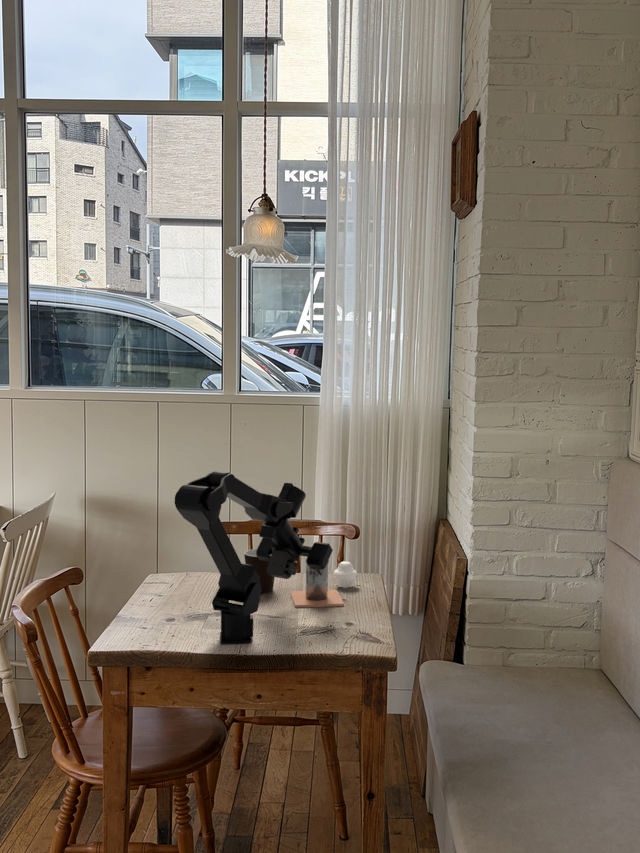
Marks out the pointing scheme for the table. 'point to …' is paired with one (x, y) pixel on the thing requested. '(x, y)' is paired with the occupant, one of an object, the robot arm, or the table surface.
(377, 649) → the table surface
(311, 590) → the press pot
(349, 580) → the muffin
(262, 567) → the coffee mug
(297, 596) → the plate
